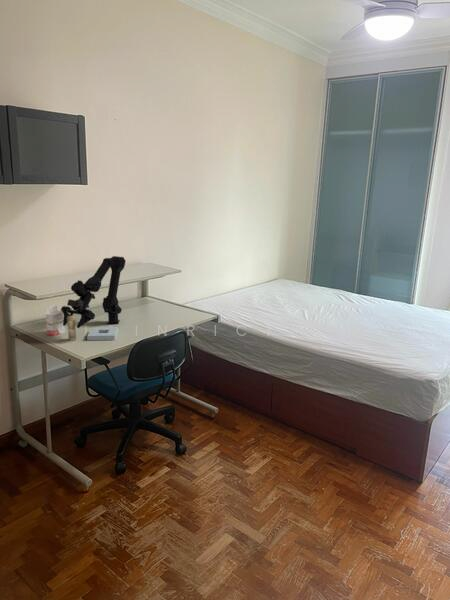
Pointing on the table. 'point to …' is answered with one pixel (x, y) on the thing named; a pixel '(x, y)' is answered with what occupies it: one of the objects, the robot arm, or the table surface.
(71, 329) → the dowel
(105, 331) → the socket board
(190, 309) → the table surface
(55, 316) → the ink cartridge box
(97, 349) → the table surface
